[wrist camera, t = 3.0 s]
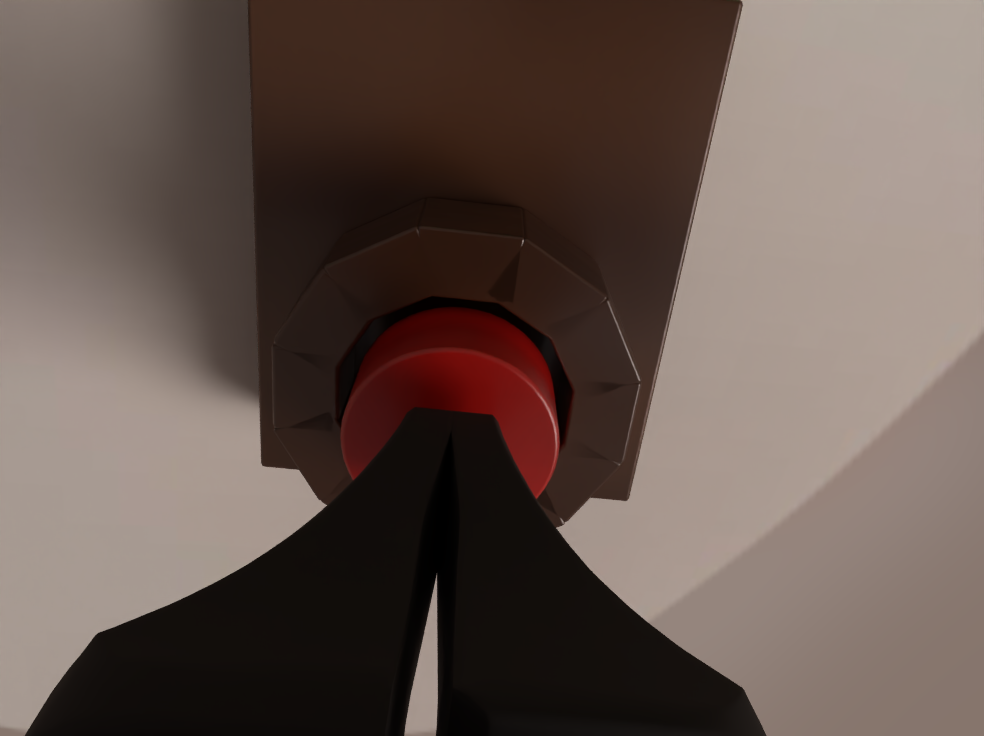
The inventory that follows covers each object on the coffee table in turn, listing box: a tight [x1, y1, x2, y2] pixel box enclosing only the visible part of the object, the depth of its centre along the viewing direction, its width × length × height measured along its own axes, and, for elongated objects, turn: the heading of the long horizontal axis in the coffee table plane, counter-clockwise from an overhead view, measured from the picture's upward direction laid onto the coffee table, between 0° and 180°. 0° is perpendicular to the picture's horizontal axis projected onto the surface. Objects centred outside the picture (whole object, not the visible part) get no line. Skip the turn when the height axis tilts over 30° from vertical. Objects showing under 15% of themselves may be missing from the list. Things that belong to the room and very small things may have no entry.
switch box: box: [248, 0, 743, 527], centre depth 15 cm, size 10×8×4 cm
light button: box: [340, 307, 560, 499], centre depth 14 cm, size 4×4×2 cm
